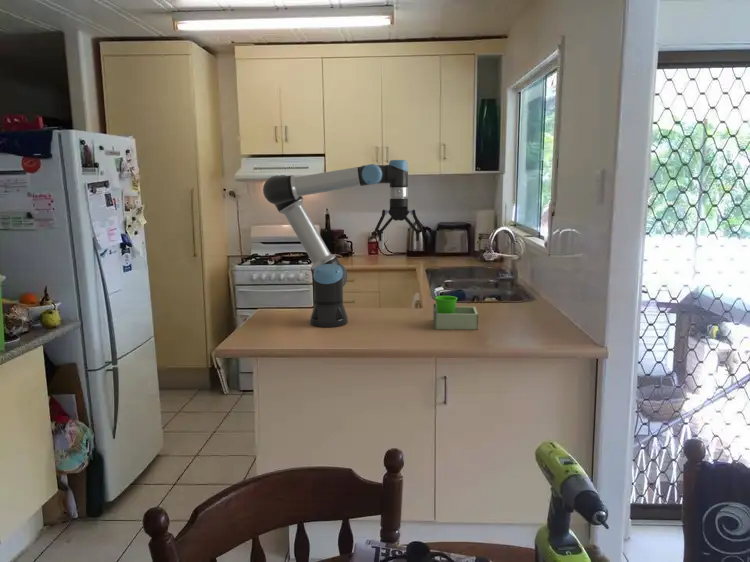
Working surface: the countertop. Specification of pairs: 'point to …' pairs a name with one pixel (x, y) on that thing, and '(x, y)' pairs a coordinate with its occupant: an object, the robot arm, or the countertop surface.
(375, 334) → the countertop surface
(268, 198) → the robot arm
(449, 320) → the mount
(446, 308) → the cup
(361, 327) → the countertop surface
